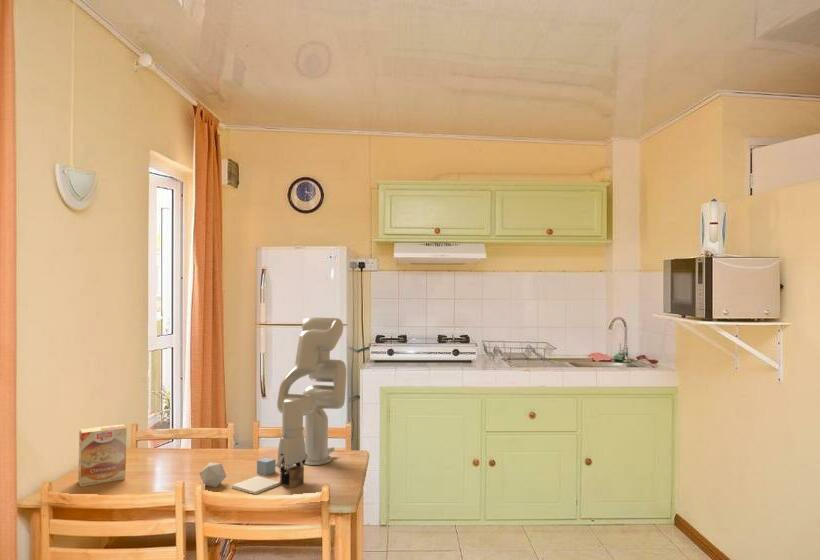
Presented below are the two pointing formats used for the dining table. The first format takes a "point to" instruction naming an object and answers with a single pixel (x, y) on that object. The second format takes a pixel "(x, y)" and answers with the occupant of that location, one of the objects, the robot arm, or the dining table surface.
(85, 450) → the coffeecake box
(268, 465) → the blue block
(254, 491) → the plate
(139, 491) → the dining table surface
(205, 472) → the die
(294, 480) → the walnut block
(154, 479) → the dining table surface
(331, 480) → the dining table surface
